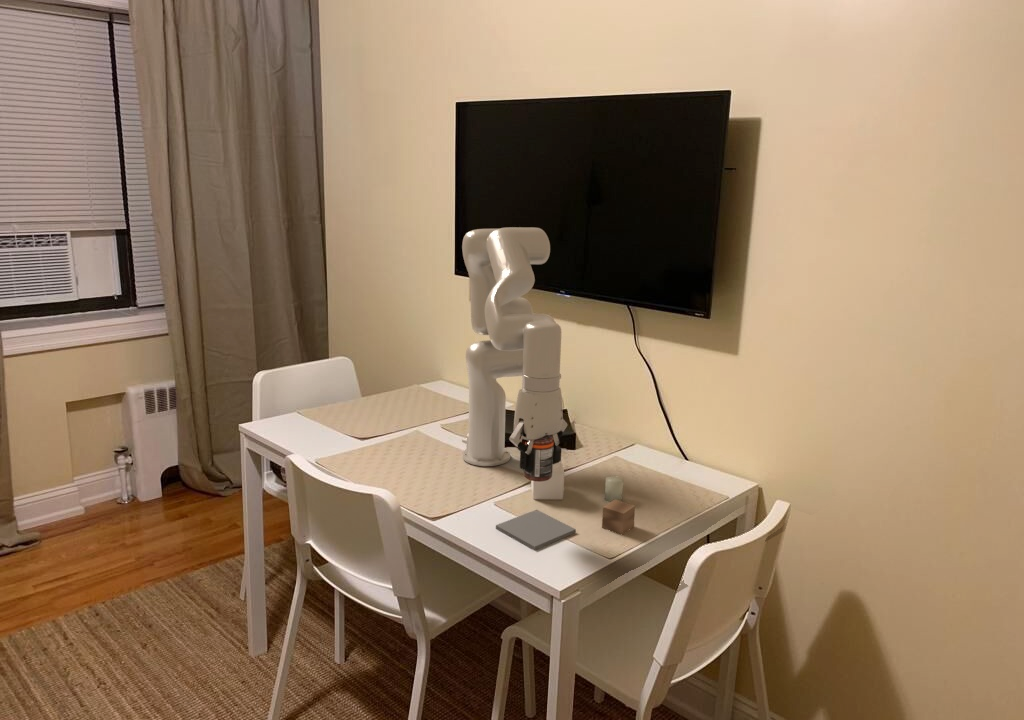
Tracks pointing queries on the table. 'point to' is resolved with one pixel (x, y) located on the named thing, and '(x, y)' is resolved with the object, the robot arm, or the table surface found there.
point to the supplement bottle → (541, 459)
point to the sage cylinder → (613, 488)
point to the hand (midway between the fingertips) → (538, 465)
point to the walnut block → (618, 516)
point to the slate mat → (535, 529)
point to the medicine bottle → (551, 482)
